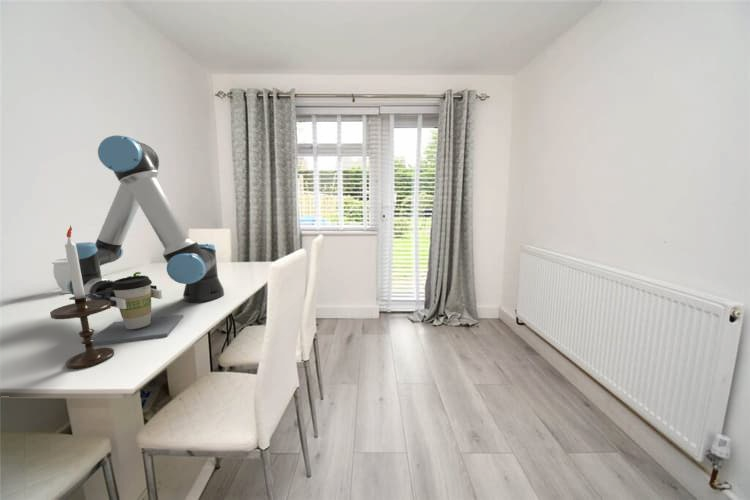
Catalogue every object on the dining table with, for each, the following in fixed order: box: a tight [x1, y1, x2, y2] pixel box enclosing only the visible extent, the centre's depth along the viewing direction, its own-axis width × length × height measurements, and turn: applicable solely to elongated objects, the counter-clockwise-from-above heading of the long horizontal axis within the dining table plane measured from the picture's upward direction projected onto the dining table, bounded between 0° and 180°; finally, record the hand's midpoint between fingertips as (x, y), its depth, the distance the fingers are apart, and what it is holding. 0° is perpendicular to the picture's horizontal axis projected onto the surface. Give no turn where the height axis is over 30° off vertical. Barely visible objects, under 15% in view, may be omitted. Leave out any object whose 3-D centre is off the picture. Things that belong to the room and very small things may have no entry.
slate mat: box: [92, 314, 184, 347], centre depth 94 cm, size 20×16×1 cm
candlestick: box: [49, 225, 115, 370], centre depth 74 cm, size 11×11×35 cm
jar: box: [51, 257, 71, 294], centre depth 135 cm, size 11×10×15 cm
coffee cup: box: [111, 275, 153, 329], centre depth 92 cm, size 10×10×15 cm
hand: (143, 299), depth 90 cm, fingers open, 9 cm apart
